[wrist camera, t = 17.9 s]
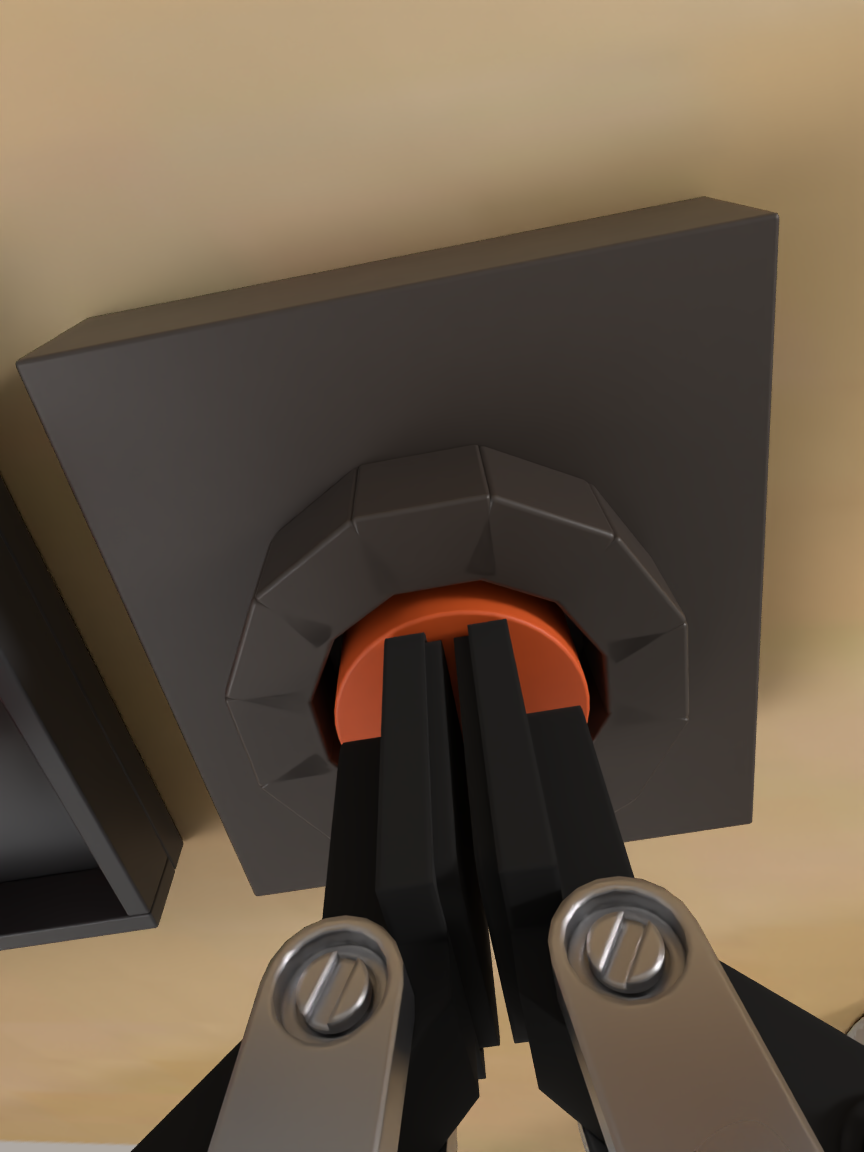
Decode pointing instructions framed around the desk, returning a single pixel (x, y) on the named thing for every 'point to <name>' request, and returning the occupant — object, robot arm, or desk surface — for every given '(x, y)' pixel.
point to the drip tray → (67, 775)
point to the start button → (444, 616)
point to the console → (442, 495)
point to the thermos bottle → (857, 1031)
